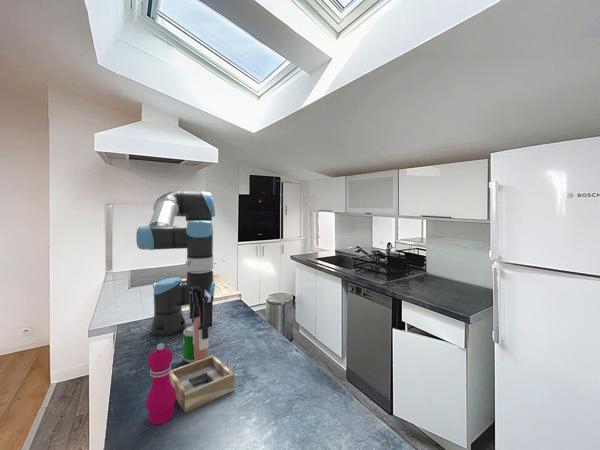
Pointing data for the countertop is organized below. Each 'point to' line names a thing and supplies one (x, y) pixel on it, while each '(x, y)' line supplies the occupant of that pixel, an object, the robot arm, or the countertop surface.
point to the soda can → (188, 345)
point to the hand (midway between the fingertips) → (200, 345)
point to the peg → (198, 353)
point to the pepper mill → (160, 386)
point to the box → (199, 372)
